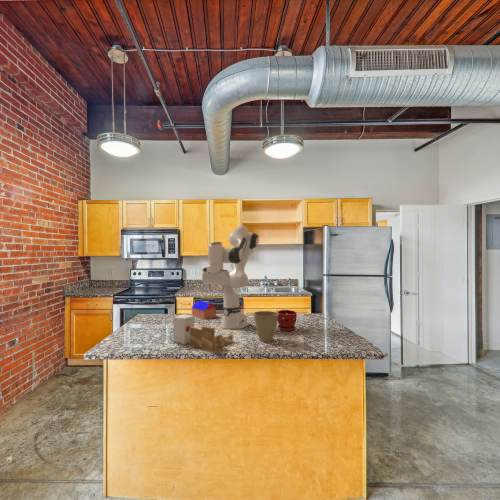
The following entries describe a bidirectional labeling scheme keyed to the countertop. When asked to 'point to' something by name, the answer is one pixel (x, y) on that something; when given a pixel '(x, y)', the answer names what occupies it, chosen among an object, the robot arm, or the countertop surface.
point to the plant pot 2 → (286, 320)
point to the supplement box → (182, 328)
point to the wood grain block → (205, 338)
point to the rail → (227, 339)
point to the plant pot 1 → (266, 324)
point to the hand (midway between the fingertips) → (216, 292)
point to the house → (203, 310)
